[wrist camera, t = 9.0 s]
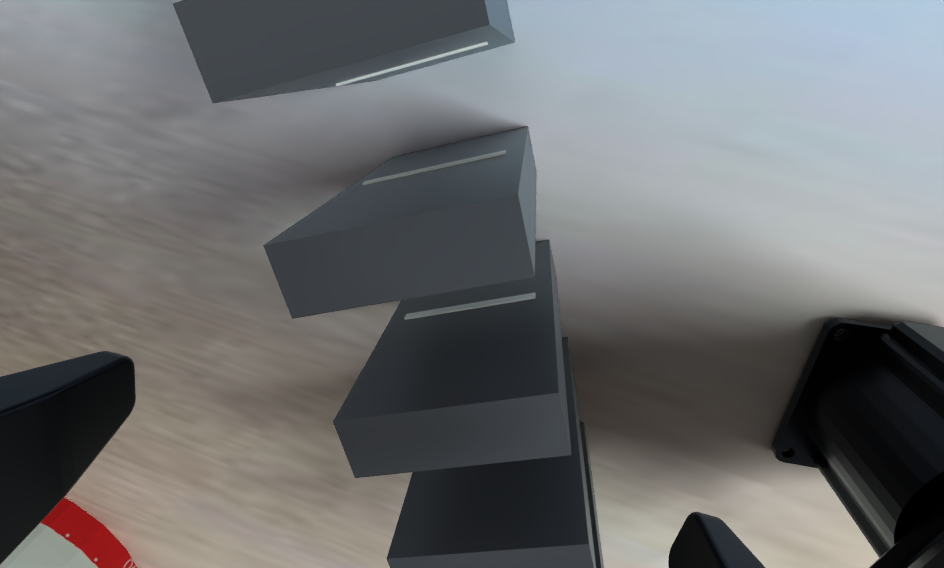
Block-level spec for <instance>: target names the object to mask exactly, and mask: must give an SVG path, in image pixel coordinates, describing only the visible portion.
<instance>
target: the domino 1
mask: <svg viewBox="0 0 944 568" xmlns="http://www.w3.org/2000/svg"><path fill="white" fill-rule="evenodd" d="M173 5H174V8H175V10H176V13H177V15H178V18H179V20H180V23H181V25H182V28H183V30H184V33H185V35H186V38H187V40H188V43H189V45H190V48H191V50H192V52H193V55H194V57H195V60H196V62H197V65H198V67H199V70H200V72H201V75H202V77H203V80H204V82H205V85H206V87H207V90H208V92H209V95H210V97H211V100H212V102H213V103H219V102H226V101H233V100H241V99H248V98H255V97H262V96H269V95H277V94H284V93H291V92H298V91H305V90H313V89H320V88H327V87H334V86H341V85H349V84H356V83H363V82H370V81H376V80H379V79H383V78H387V77H390V76H394V75H397V74H401V73H405V72H408V71H412V70H416V69H419V68H423V67H426V66H430V65H434V64H437V63H441V62H445V61H448V60H452V59H456V58H459V57H463V56H466V55H470V54H474V53H477V52H481V51H485V50H488V49H492V48H495V47H499V46H503V45H506V44H510V43H514V42H515V39H514V34H513V29H512V24H511V19H510V14H509V9H508V4H507V0H183V1H180V2H177V3H174V4H173Z"/></svg>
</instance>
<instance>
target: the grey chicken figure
mask: <svg viewBox="0 0 944 568" xmlns="http://www.w3.org/2000/svg"><path fill="white" fill-rule="evenodd" d="M0 568H137V567H136V565H135V563H134V562H133V560H132V558H131V556H130V555H129V553H128V551H127V550H126V548H125V547H124V546H123V545H122V544H121V543H120V542H119V541H118V540H117V539H116V538H115V537H114V536H113V534H112V533H111V532H110V531H109V530H108V529H107V528H106V527H105V526H104V525H103V524H102V523H100V522H99V521H98V520H96V519H95V518H94V517H92V516H91V515H89V514H88V513H87V512H85V511H84V510H83V509H81V508H80V507H79V506H77V505H76V504H74V503H73V502H71V501H69V500H67V499H65V498H63V499H62V500H61V501H60V502H59V503H58V504H57V505H56V507H55V508H54V509H53V510H52V511H51V512H50V513H49V514H48V515H47V516H46V517H45V518H44V519H43V520H42V522H41V523H40V524H39V525H38V526H37V527H36V528H35V529H34V530H33V531H32V532H31V533H30V534H29V535H28V536H27V537H26V538H25V539H24V540H23V542H22V543H21V544H20V545H19V546H18V547H17V548H16V549H15V550H14V551H13V552H12V553H11V554H10V555H9V556H8V557H7V558H6V559H5V560H4V562H3V563H2V564H1V565H0Z"/></svg>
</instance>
